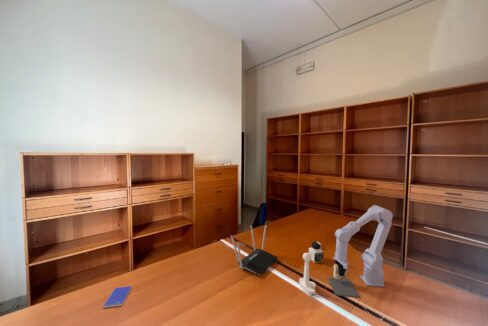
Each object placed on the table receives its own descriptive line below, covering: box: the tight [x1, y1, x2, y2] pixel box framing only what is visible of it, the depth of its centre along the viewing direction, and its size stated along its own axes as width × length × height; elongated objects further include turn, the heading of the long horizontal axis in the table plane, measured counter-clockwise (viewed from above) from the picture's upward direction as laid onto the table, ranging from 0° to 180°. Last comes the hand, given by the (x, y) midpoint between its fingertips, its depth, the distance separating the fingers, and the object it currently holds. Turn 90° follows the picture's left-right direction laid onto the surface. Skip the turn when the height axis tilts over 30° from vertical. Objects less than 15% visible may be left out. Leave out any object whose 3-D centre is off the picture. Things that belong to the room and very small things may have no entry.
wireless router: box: [230, 224, 278, 276], centre depth 133 cm, size 34×23×20 cm
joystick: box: [298, 252, 316, 297], centre depth 109 cm, size 11×8×20 cm
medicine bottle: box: [308, 241, 325, 264], centre depth 137 cm, size 7×7×12 cm
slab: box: [333, 263, 348, 280], centre depth 114 cm, size 6×3×7 cm, turn 84°
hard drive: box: [102, 285, 132, 309], centre depth 101 cm, size 2×8×12 cm
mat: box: [327, 277, 361, 298], centre depth 110 cm, size 12×14×1 cm
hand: (340, 273), depth 114 cm, fingers closed on slab, 3 cm apart
